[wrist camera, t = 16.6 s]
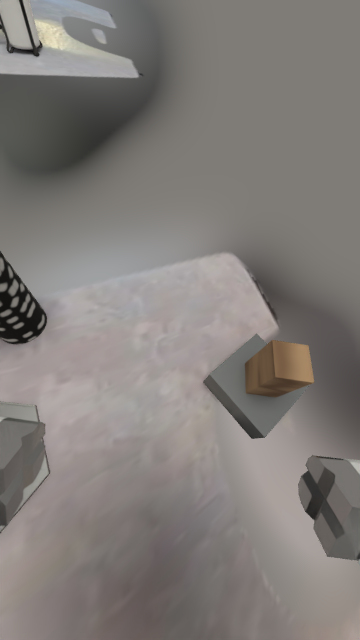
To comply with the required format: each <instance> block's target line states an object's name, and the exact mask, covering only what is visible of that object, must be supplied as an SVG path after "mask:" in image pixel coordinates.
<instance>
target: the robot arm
mask: <svg viewBox="0 0 360 640" xmlns="http://www.w3.org/2000/svg"><path fill="white" fill-rule="evenodd" d="M44 435H45V424H44V423H42V422H36V421H30V420H23V419H16V418H9V417H8V418H6V417H0V526H7V525H8V523H9V522H10V520H11V518H12V517H13V515H14V514H15V512H16V510H17V509H18V507H19V505H20V504H21V502H22V500H23V489H25V488H26V487H28V486H29V485H31V484H32V483H33V482H34V480H35V479H36V477H37V475H38V474H39V471H40V469H41V466H42V464H43V461H44V456H45V445H44V444H43V442H42V441H41V439H42V438H43V436H44ZM306 467H307V469H308V471H307V472H306V473H304V474H303V475H302V476H301V478H300V481H299V484H298V488H299V497H300V501H301V504H302V505H303V508H304V510H305V512H306V513H307V514H308V515H309V516H310V517H311V518H312V519H314V530H315V532H316V535H317V537H318V538H319V540H320V542H321V544H322V547H323V549H324V551H325V553H326V554H327V556H328V557H335V558H342V559H350V560H357V561H358V563H359V564H360V461H359V460H351V459H340V458H331V457H322V456H314V455H312V456H311V457H310V458H308V460H307V463H306Z"/></svg>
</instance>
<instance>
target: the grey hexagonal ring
mask: <svg viewBox="0 0 360 640" xmlns="http://www.w3.org/2000/svg"><path fill="white" fill-rule="evenodd" d="M0 417H6V418H8V417H9V418H16V419H23V420H30V421H36V422H40V421H39V416H38V411H37V406H36V405H28V404H19V403H9V402H0ZM41 441H42V442H43V444H44V441H43V438H42V439H41ZM49 474H50V470H49V465H48V460H47V455H46V450H45V456H44V461H43V464H42V466H41V469H40V471H39V474H38V475H37V477H36V479H35V480H34V482H33V483H32V484H31V485H29V486H28V487H26V488H25V489H23V500H22V502H21V504H20V505H19V507H18V509H17V510H16V512H15V514H14V515H13V517H14V516H15V515H16V513H17V512H18V511H19V510H20V509H21V507H22V506H23V505H24V504H25V503H26V501H27V500H28V499H29V498H30V497H31V495H32V494H33V493H34V492H35V491H36V489H37V488H38V487H39V486H40V485H41V483H42V482H43V481H44V480H45V479H46V477H47V476H48V475H49ZM13 517H12V518H13ZM12 518H11V519H12ZM10 521H11V520H10ZM5 527H6V526H0V533H1V531H2V530H3V529H4V528H5Z"/></svg>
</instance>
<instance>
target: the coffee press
mask: <svg viewBox="0 0 360 640" xmlns="http://www.w3.org/2000/svg"><path fill="white" fill-rule="evenodd" d="M0 29H2V31H3V32H4V35H5V38H6V40H7V51H8V52H10V53H13V50H14V48H19V49H30V50H32V52H33V54H34V55H35V56H39V53H38V50H37V47H38V46H39V44H40V46H39V47H42V43H41V42H40V40H39V37H38V33H37V29H36V25H35V21H34V17H33V13H32V9H31V5H30V2H29V0H0ZM9 44H10V45H11V46H13V47H11V50H10V51H9Z"/></svg>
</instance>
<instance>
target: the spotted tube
mask: <svg viewBox="0 0 360 640" xmlns="http://www.w3.org/2000/svg"><path fill="white" fill-rule="evenodd" d="M46 323H47V317H46V313H45V311H44V310H43V309H42V307H41V306H40V305H39V303H38V302H37V301H36V299H35V298H34V296H33V295H32V294H31V292H30V291H29V290H28V288H27V287H26V286H25V284H24V283H23V282H22V280H21V279H20V278H19V276H18V275H17V273H16V272H15V271H14V269H13V268H12V266H11V265H10V264H9V262H8V261H7V260H6V258H5V257H4V256H3V254H2V253H1V251H0V338H1V339H2V340H3V341H5V342H7V343H11V344H22V343H26V342H29V341H31V340H33V339H35V338H36V337H37V336H39V335H40V334H41V333H42V331H43V330H44V328H45V326H46Z"/></svg>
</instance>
